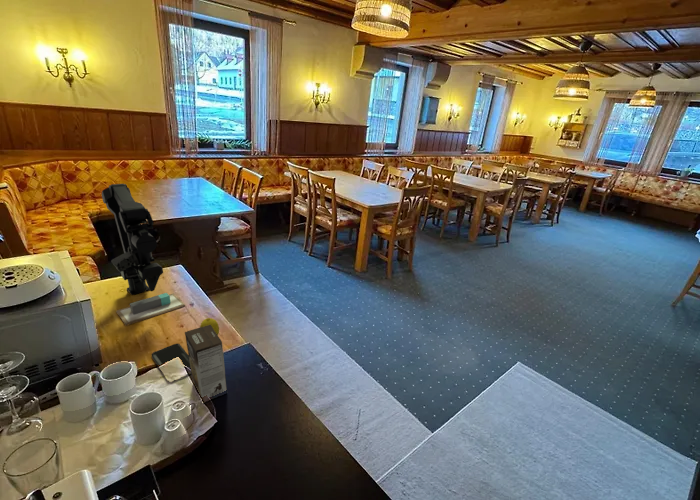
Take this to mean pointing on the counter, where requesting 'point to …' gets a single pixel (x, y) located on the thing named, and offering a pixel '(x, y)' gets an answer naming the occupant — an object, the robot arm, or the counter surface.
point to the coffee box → (206, 360)
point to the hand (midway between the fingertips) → (147, 286)
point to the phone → (171, 355)
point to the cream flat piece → (149, 311)
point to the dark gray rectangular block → (149, 303)
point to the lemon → (211, 322)
